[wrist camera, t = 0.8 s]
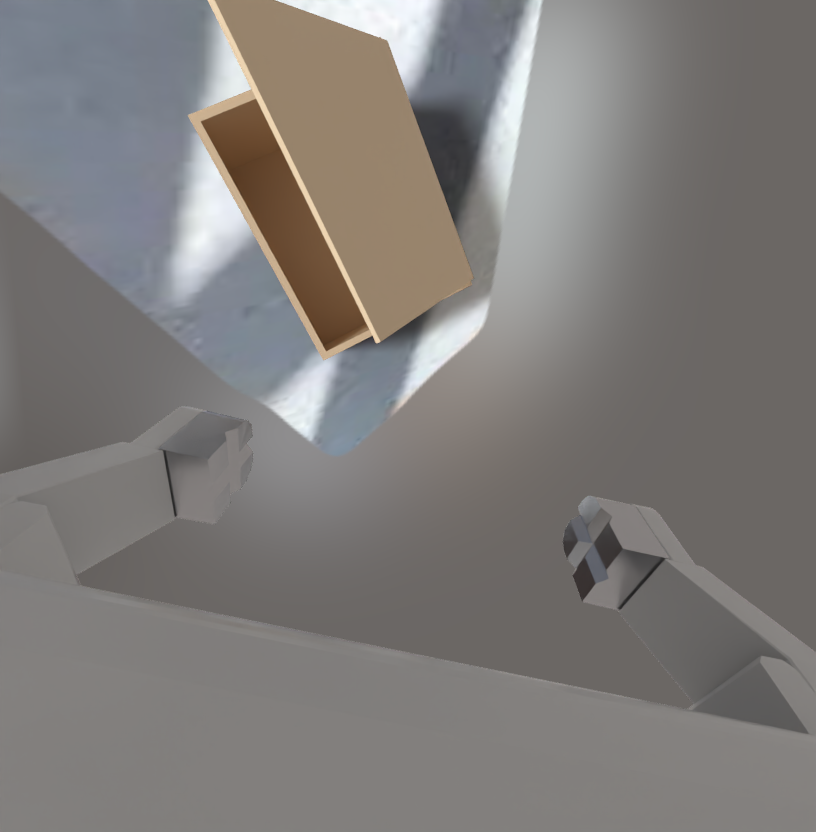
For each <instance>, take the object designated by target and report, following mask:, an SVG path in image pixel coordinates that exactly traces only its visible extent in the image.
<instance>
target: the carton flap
mask: <svg viewBox="0 0 816 832" xmlns="http://www.w3.org/2000/svg"><path fill="white" fill-rule="evenodd" d="M208 2H209V4H210V6H211V8H212V10H213V12H214V14H215V16H216V18H217V20H218V22H219V24H220V26H221V28H222V30H223V32H224V34H225V36H226V38H227V40H228V42H229V44H230V46H231V48H232V50H233V52H234V55H235V57H236V59H237V61H238V63H239V65H240V67H241V69H242V71H243V73H244V75H245V77H246V79H247V81H248V83H249V85H250V87H251V89H252V91H253V93H254V95H255V97H256V99H257V101H258V103H259V105H260V108H261V110H262V112H263V114H264V116H265V118H266V120H267V122H268V124H269V126H270V128H271V130H272V132H273V134H274V136H275V138H276V140H277V142H278V144H279V146H280V148H281V150H282V152H283V154H284V156H285V159H286V161H287V163H288V165H289V167H290V169H291V171H292V173H293V175H294V177H295V179H296V181H297V183H298V185H299V187H300V189H301V191H302V193H303V195H304V197H305V199H306V201H307V203H308V205H309V207H310V209H311V212H312V214H313V216H314V218H315V220H316V222H317V224H318V226H319V228H320V230H321V232H322V234H323V236H324V238H325V240H326V242H327V244H328V246H329V248H330V250H331V252H332V254H333V256H334V258H335V260H336V262H337V265H338V267H339V269H340V271H341V273H342V275H343V277H344V279H345V281H346V283H347V285H348V287H349V289H350V291H351V293H352V295H353V297H354V299H355V301H356V303H357V305H358V307H359V309H360V311H361V313H362V315H363V318H364V320H365V322H366V324H367V326H368V328H369V330H370V332H371V334H372V336H373V338H374V340H375V342H376V343H379V342H381V341H383V340H384V339H385V338H387V337H388V336H390V335H391V334H393V333H394V332H396V331H397V330H399V329H400V328H402V327H403V326H405V325H406V324H408V323H409V322H410V321H412V320H413V319H415V318H416V317H418V316H419V315H421V314H422V313H424V312H425V311H427V310H428V309H430V308H431V307H432V306H434V305H435V304H437V303H438V302H440V301H441V300H443V299H444V298H446V297H447V296H449V295H450V294H452V293H453V292H455V291H456V290H457V289H459V288H460V287H462V286H463V285H465V284H466V283H468V282H469V281H471V280H472V279H474V277H473V274H472V271H471V268H470V266H469V263H468V260H467V258H466V255H465V252H464V249H463V247H462V244H461V241H460V238H459V236H458V233H457V230H456V228H455V225H454V222H453V219H452V217H451V214H450V211H449V208H448V206H447V203H446V200H445V197H444V195H443V192H442V189H441V187H440V184H439V181H438V178H437V176H436V173H435V170H434V167H433V165H432V162H431V159H430V156H429V154H428V151H427V148H426V146H425V143H424V140H423V137H422V135H421V132H420V129H419V126H418V124H417V121H416V118H415V116H414V113H413V110H412V107H411V105H410V102H409V99H408V96H407V94H406V91H405V88H404V85H403V83H402V80H401V77H400V75H399V72H398V69H397V66H396V64H395V61H394V58H393V55H392V53H391V50H390V47H389V44H388V42H387V40H384V39H381V38H378V37H376V36H373V35H370V34H367V33H365V32H362V31H359V30H356V29H353V28H351V27H348V26H345V25H342V24H339V23H337V22H334V21H331V20H328V19H326V18H323V17H320V16H317V15H314V14H312V13H309V12H306V11H303V10H301V9H298V8H295V7H292V6H289V5H287V4H284V3H281V2H278V1H275V0H208Z"/></svg>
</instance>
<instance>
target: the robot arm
mask: <svg viewBox="0 0 816 832" xmlns="http://www.w3.org/2000/svg"><path fill="white" fill-rule="evenodd" d="M251 438H252V424H251V423H250V422H249V421H247V420H243V419H239V418H235V417H231V416H227V415H222V414H218V413H214V412H210V411H205V410H201V409H197V408H192V407H187V406H183V407H179V408H177V409H176V410H174V411H173V412H172V413H170V414H169V415H168V416H166V417H165V418H164V419H162V420H161V421H160V422H158V423H157V424H155V425H154V426H153V427H151V428H150V429H149V430H147V431H146V432H145V433H143V434H142V435H141V436H139V437H138V438H136V439H135V440H134V441H132V442H131V443H125V442H120V443H116V444H112V445H109V446H105V447H101V448H98V449H94V450H90V451H86V452H83V453H79V454H75V455H71V456H68V457H64V458H60V459H57V460H52V461H49V462H45V463H41V464H38V465H34V466H30V467H26V468H22V469H19V470H15V471H11V472H7V473H4V474H0V832H816V652H815V651H813V650H812V649H811V648H809V647H808V646H806V645H805V644H804V643H803V642H801V641H800V640H799V639H797V638H796V637H795V636H793V635H792V634H791V633H789V632H788V631H787V630H785V629H784V628H783V627H782V626H780V625H779V624H778V623H776V622H775V621H774V620H772V619H771V618H770V617H768V616H767V615H766V614H764V613H763V612H761V611H760V610H759V609H758V608H756V607H755V606H754V605H752V604H751V603H750V602H748V601H747V600H746V599H744V598H743V597H742V596H740V595H739V594H738V593H736V592H735V591H734V590H733V589H731V588H730V587H729V586H727V585H726V584H725V583H723V582H722V581H721V580H719V579H718V578H717V577H715V576H714V575H713V574H711V573H710V572H709V571H707V570H706V569H705V568H703V567H701V566H696V565H695V564H694V562H693V561H692V559H691V558H690V557H689V556H688V554H687V552H686V551H685V550H684V549H683V547H682V545H681V544H680V543H679V541H678V540H677V538H676V537H675V536H674V534H673V533H672V532H671V530H670V529H669V527H668V526H667V525H666V523H665V522H664V520H663V519H662V518H661V516H660V515H659V513H658V512H657V511H655V510H654V509H652V508H649V507H644V506H639V505H634V504H625V503H620V502H615V501H611V500H605V499H602V498H597V497H592V496H587V497H586V498H585V499H583V500H582V502H581V504H580V505H579V507H578V509H579V513H580V515H579V516H578V517H576V518H574V519H572V520H570V522H569V523H568V525H567V527H566V529H565V531H564V537H563V547H564V552H565V555H566V558H567V560H568V561H569V562H570V563H571V564H572V565H573V566H574V567H575V568H576V570H575V571H574V573H573V578H574V581H575V583H576V586H577V589H578V592H579V595H580V598H581V600H582V602H585V603H589V604H593V605H597V606H602V607H606V608H610V609H614V610H618V611H619V612H618V613H619V614H620V615H621V616H622V618H623V619H624V620H625V621H626V622H627V624H628V625H629V626H630V627H631V629H632V630H633V631H634V632H635V633H636V635H637V636H638V637H639V638H640V639H641V640H642V642H643V643H644V644H645V646H646V647H647V648H648V649H649V650H650V652H651V653H652V654H653V655H654V656H655V658H656V659H657V660H658V661H659V663H660V664H661V665H662V666H663V667H664V669H665V670H666V671H667V672H668V673H669V674H670V676H671V677H672V678H673V679H674V681H675V682H676V683H677V684H678V686H679V687H680V688H681V689H682V690H683V692H684V693H685V694H686V695H687V696H688V698H689V699H690V700H691V701H692V702H693V704H694V705H692V706H691V707H690V708H688V709H684V708H679V707H674V706H669V705H664V704H659V703H654V702H649V701H644V700H639V699H634V698H629V697H625V696H620V695H614V694H610V693H604V692H599V691H595V690H590V689H585V688H580V687H575V686H570V685H565V684H560V683H555V682H551V681H545V680H541V679H536V678H531V677H526V676H520V675H516V674H511V673H506V672H500V671H496V670H491V669H486V668H481V667H476V666H471V665H466V664H462V663H456V662H452V661H447V660H441V659H437V658H432V657H427V656H422V655H417V654H413V653H408V652H403V651H398V650H393V649H388V648H383V647H378V646H373V645H368V644H363V643H359V642H353V641H349V640H343V639H339V638H334V637H329V636H324V635H319V634H315V633H310V632H305V631H300V630H294V629H290V628H285V627H280V626H275V625H270V624H265V623H260V622H255V621H250V620H245V619H240V618H236V617H231V616H226V615H221V614H216V613H211V612H207V611H202V610H196V609H192V608H187V607H182V606H177V605H172V604H167V603H162V602H157V601H152V600H147V599H143V598H138V597H133V596H128V595H123V594H118V593H113V592H108V591H103V590H98V589H94V588H88V587H84V586H81V584H80V582H79V580H78V577H77V574H79V573H81V572H83V571H84V570H86V569H88V568H90V567H92V566H93V565H95V564H97V563H99V562H100V561H102V560H104V559H106V558H107V557H109V556H111V555H113V554H115V553H116V552H118V551H120V550H122V549H124V548H125V547H127V546H129V545H130V544H132V543H134V542H136V541H138V540H140V539H141V538H143V537H145V536H147V535H148V534H150V533H151V532H154V531H156V530H157V529H159V528H161V527H163V526H164V525H166V524H168V523H170V522H171V521H173V520H175V517H177V518H182V519H187V520H193V521H198V522H204V523H209V524H216V522H217V521H218V519H219V518H220V517H221V515H222V514H223V513H224V511H225V510H226V509H227V507H228V506H229V505H230V503H231V497H230V494H231V493H233V492H236V491H238V490H240V489H241V488H242V487H243V485H244V484H245V482H246V481H247V478H248V476H249V473H250V471H251V468H252V462H253V451H252V450H251V448H250V447H249V446H248V445H247V442H248V441H249V440H250V439H251Z"/></svg>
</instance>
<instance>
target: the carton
mask: <svg viewBox="0 0 816 832" xmlns="http://www.w3.org/2000/svg"><path fill="white" fill-rule="evenodd" d="M379 38H381V37H379ZM188 117H189V118H190V120H191V122H192V124H193V126H194V127H195V129H196V131H197V133H198V135H199V136H200V138H201V140H202V142H203V144H204V145H205V147H206V149H207V151H208V153H209V155H210V156H211V158H212V160H213V162H214V164H215V165H216V167H217V169H218V171H219V173H220V174H221V176H222V178H223V180H224V182H225V183H226V185H227V187H228V189H229V191H230V192H231V194H232V196H233V198H234V200H235V201H236V203H237V205H238V207H239V209H240V210H241V212H242V214H243V216H244V218H245V219H246V221H247V223H248V225H249V227H250V229H251V230H252V232H253V234H254V236H255V238H256V239H257V241H258V243H259V245H260V247H261V248H262V250H263V252H264V254H265V256H266V257H267V259H268V261H269V263H270V265H271V266H272V268H273V270H274V272H275V274H276V275H277V277H278V279H279V281H280V283H281V284H282V286H283V288H284V290H285V292H286V294H287V295H288V297H289V299H290V301H291V303H292V304H293V306H294V308H295V310H296V312H297V313H298V315H299V317H300V319H301V321H302V322H303V324H304V326H305V328H306V330H307V331H308V333H309V335H310V337H311V339H312V340H313V342H314V344H315V346H316V348H317V349H318V351H319V353H320V355H321V357H322V359H323V360H326V359H328V358H330V357H331V356H333V355H335V354H337V353H339V352H341V351H343V350H345V349H347V348H349V347H351V346H353V345H355V344H357V343H359V342H361V341H363V340H365V339H367V338H369V337H371V336H372V334H371V332H370V330H369V328H368V326H367V324H366V322H365V320H364V318H363V315H362V313H361V311H360V309H359V307H358V305H357V303H356V301H355V299H354V297H353V295H352V293H351V291H350V289H349V287H348V285H347V283H346V281H345V279H344V277H343V275H342V273H341V271H340V269H339V267H338V265H337V262H336V260H335V258H334V256H333V254H332V252H331V250H330V248H329V246H328V244H327V242H326V240H325V238H324V236H323V234H322V232H321V230H320V228H319V226H318V224H317V222H316V220H315V218H314V216H313V214H312V212H311V209H310V207H309V205H308V203H307V201H306V199H305V197H304V195H303V193H302V191H301V189H300V187H299V185H298V183H297V181H296V179H295V177H294V175H293V173H292V171H291V169H290V167H289V165H288V163H287V161H286V159H285V156H284V154H283V152H282V150H281V148H280V146H279V144H278V142H277V140H276V138H275V136H274V134H273V132H272V130H271V128H270V126H269V124H268V122H267V120H266V118H265V116H264V114H263V112H262V110H261V108H260V105H259V103H258V101H257V99H256V97H255V95H254V93H253V91H252V89H251V90H249V91H246V92H244V93H242V94H239V95H237V96H234V97H232V98H229V99H227V100H224V101H222V102H219V103H217V104H215V105H212V106H210V107H207V108H205V109H202V110H200V111H197V112H195V113H192V114H190V115H188ZM471 285H472V283H471V281H469V282H468V283H466V284H465V285H463V286H462V287H460V288H459V289H457V290H456V291H455V292H453V293H452V294H450V295H449V296H451V295H453V294H455V293H457V292H459V291H461V290H463V289H465V288H467V287H469V286H471ZM449 296H447V297H449ZM447 297H446V298H447ZM444 299H445V298H444Z"/></svg>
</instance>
